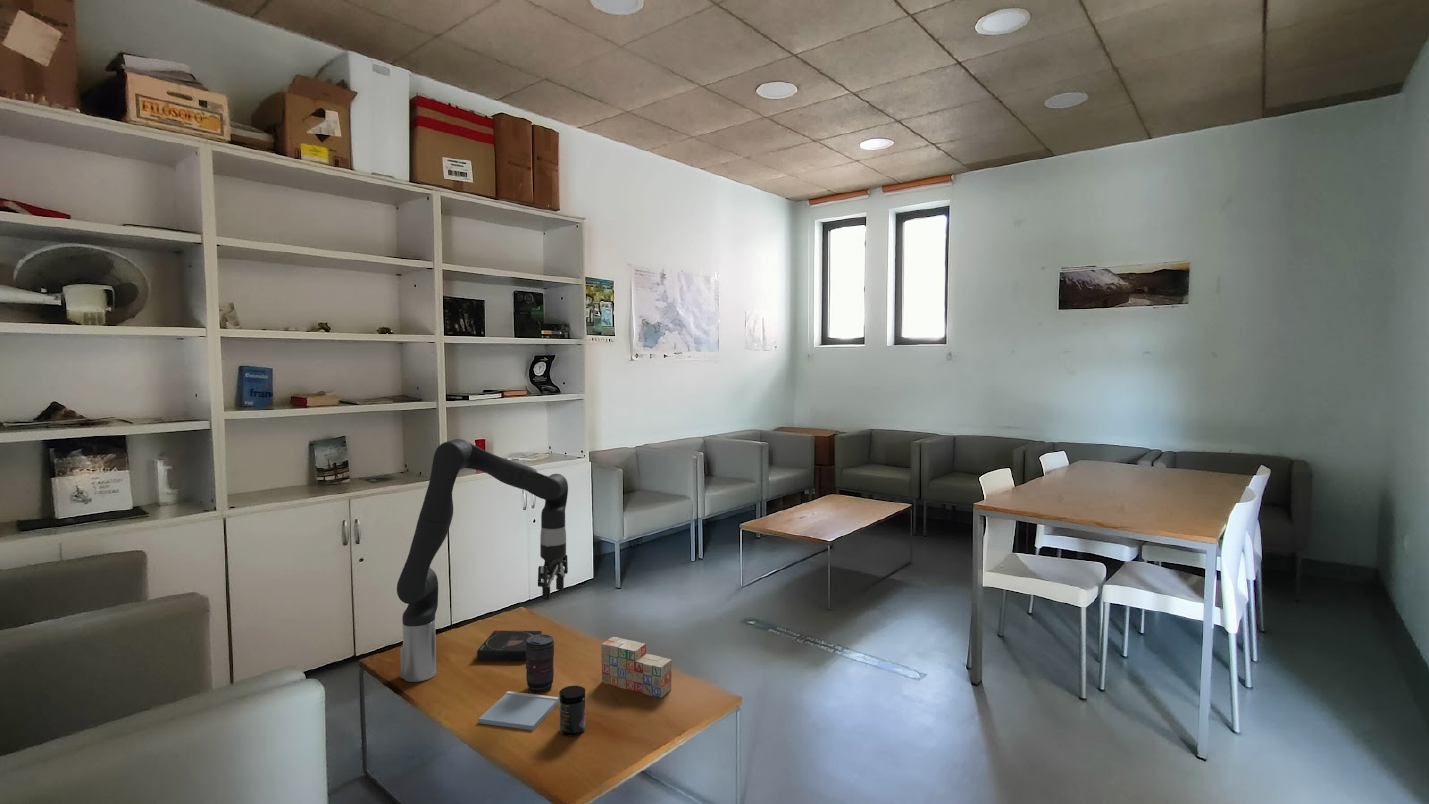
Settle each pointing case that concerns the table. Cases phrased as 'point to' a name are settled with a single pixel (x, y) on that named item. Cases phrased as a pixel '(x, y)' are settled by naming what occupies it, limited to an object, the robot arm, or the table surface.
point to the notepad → (519, 710)
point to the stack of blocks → (635, 667)
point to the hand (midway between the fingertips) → (553, 594)
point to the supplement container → (572, 710)
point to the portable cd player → (505, 646)
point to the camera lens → (539, 663)
